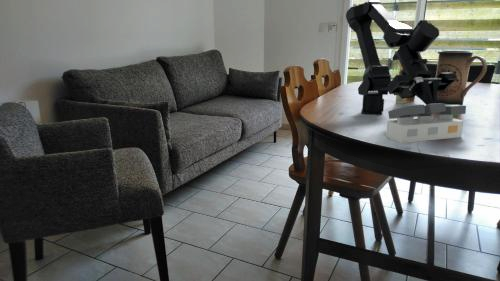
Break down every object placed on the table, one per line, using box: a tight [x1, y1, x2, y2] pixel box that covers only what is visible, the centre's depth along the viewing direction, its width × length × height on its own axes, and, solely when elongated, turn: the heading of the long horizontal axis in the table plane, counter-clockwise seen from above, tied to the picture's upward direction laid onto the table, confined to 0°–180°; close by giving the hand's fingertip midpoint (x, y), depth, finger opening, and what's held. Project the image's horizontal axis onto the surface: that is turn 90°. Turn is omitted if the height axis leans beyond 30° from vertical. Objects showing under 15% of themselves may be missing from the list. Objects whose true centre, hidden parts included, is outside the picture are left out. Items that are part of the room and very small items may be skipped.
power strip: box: [385, 113, 464, 144], centre depth 94 cm, size 6×18×6 cm, turn 105°
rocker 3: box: [438, 103, 467, 116], centre depth 94 cm, size 8×4×2 cm, turn 15°
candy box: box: [395, 64, 416, 105], centre depth 144 cm, size 9×4×15 cm, turn 134°
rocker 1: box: [388, 103, 425, 120], centre depth 91 cm, size 8×4×2 cm, turn 14°
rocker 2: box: [412, 102, 446, 118], centre depth 93 cm, size 8×4×2 cm, turn 14°
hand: (433, 108), depth 98 cm, fingers closed, pressing on rocker 3
